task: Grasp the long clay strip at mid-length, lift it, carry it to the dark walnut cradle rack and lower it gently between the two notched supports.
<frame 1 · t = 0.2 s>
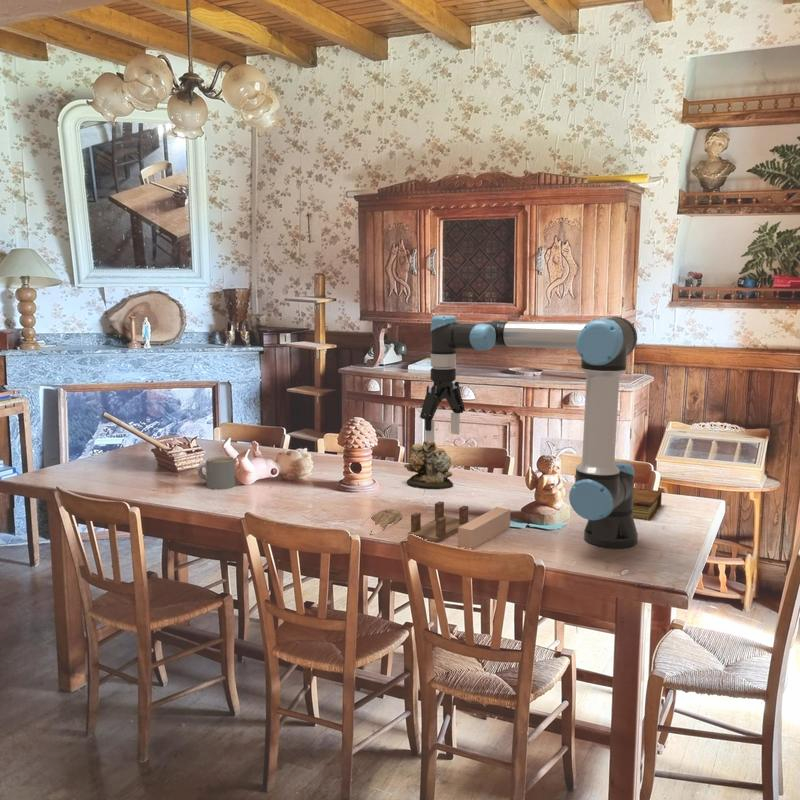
hand: (442, 437, 253), 27 cm above the table, tool pointing down, fingers open, 13 cm apart
coffee mug: (217, 486, 303), on the table
rack: (439, 530, 251), on the table
clay strip: (484, 537, 245), on the table
diary: (619, 510, 274), on the table
fish fossil: (379, 524, 259), on the table
owl figurine: (428, 485, 304), on the table
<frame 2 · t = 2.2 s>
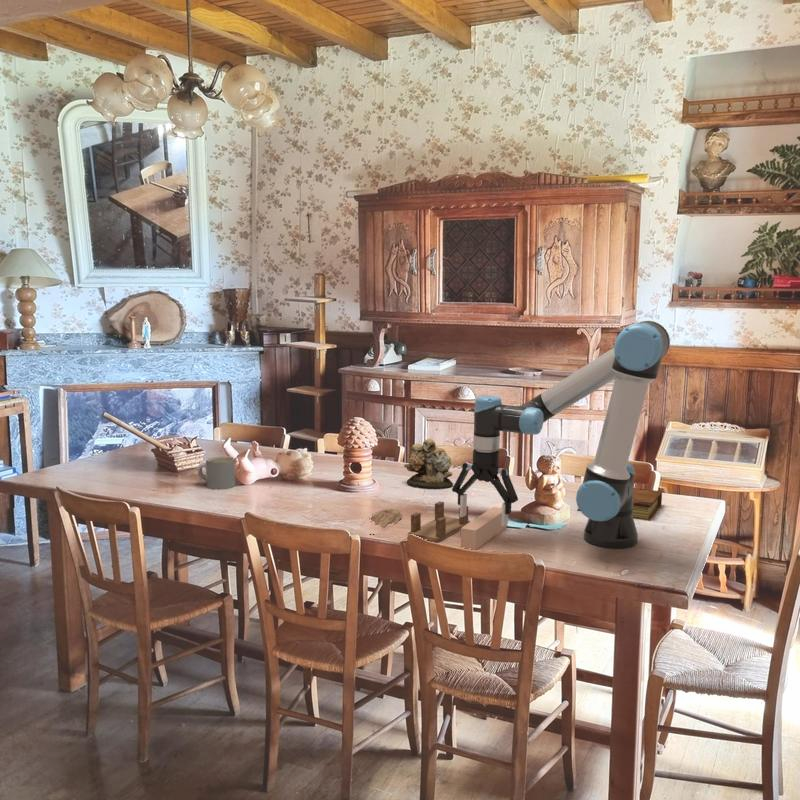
hand: (483, 520, 245), 5 cm above the table, tool pointing down, fingers open, 13 cm apart
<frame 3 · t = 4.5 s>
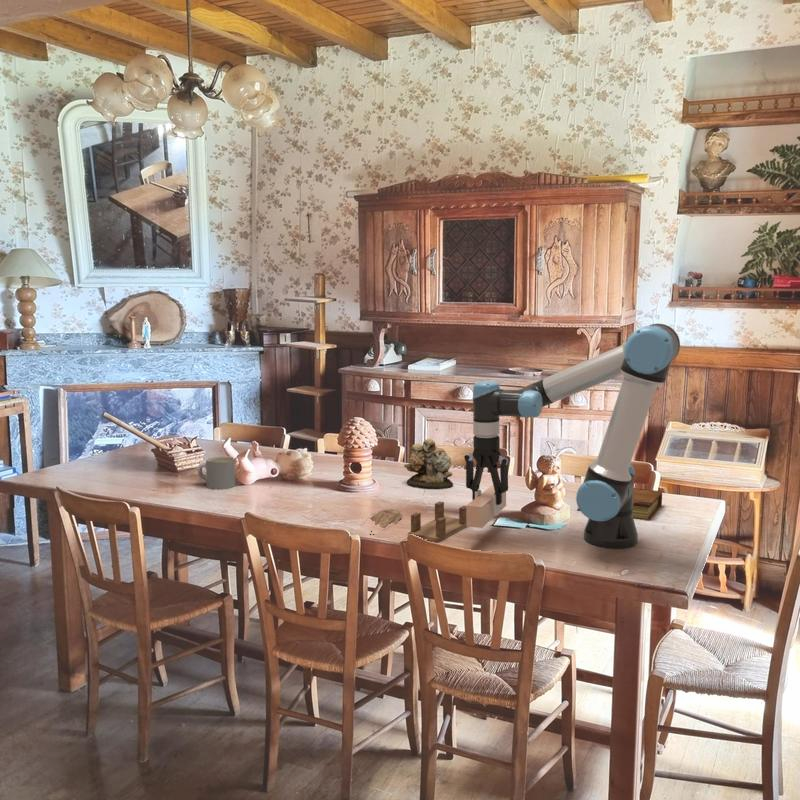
hand: (487, 513, 244), 7 cm above the table, tool pointing down, fingers closed on clay strip, 5 cm apart
clay strip: (487, 515, 244), point 6 cm above the table, touching gripper
everything else where it was.
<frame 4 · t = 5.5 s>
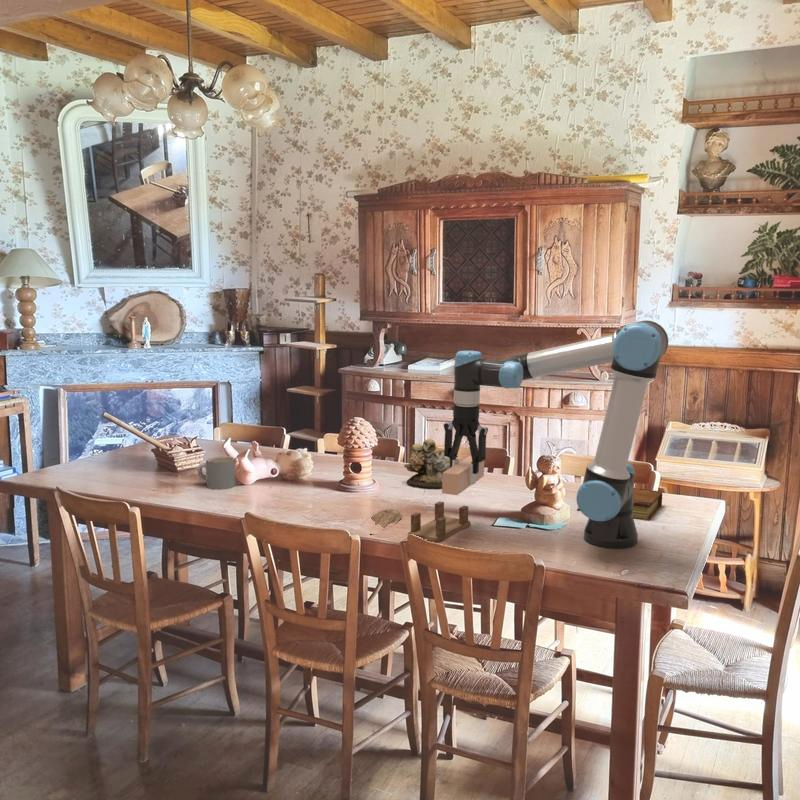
hand: (463, 482, 246), 16 cm above the table, tool pointing down, fingers closed on clay strip, 5 cm apart
clay strip: (463, 484, 246), point 15 cm above the table, touching gripper
everything else where it was.
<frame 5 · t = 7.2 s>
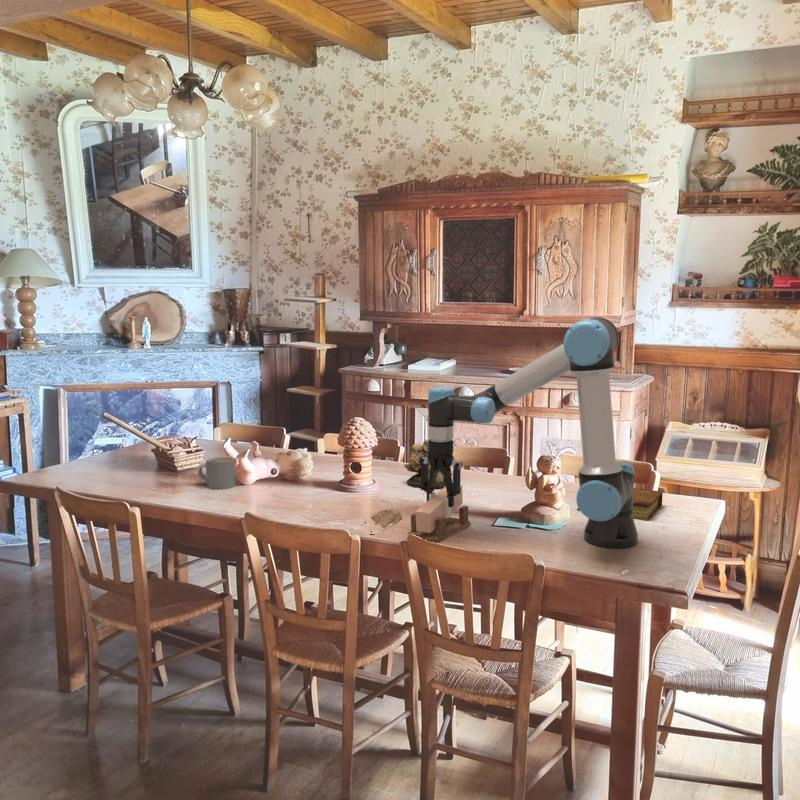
hand: (440, 515, 250), 5 cm above the table, tool pointing down, fingers closed on clay strip, 5 cm apart
clay strip: (440, 516, 251), point 4 cm above the table, tilted 6°, touching gripper
everything else where it was.
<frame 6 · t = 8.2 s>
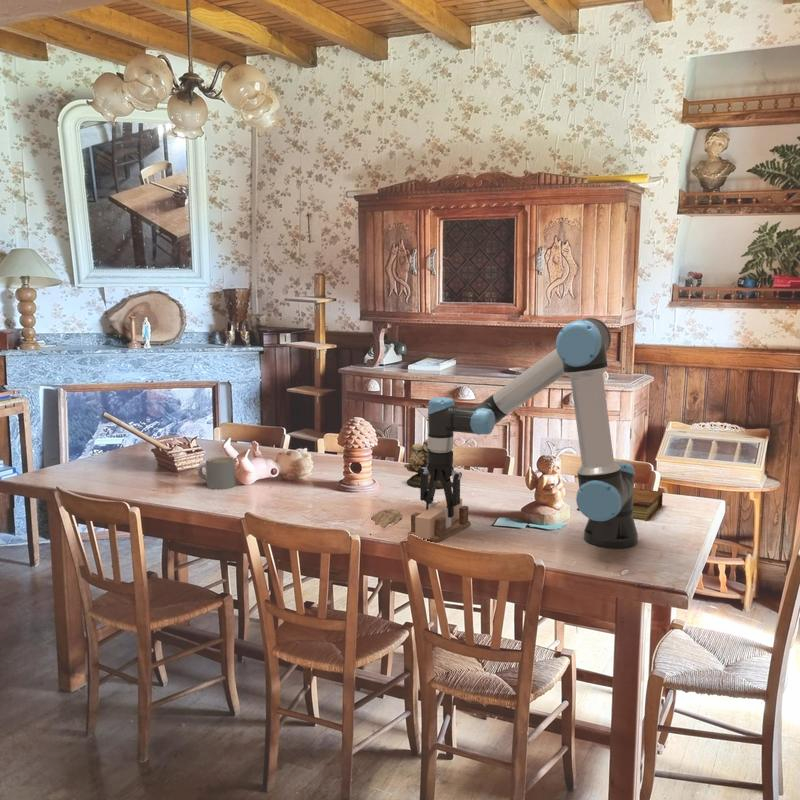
hand: (439, 525, 251), 2 cm above the table, tool pointing down, fingers closed on clay strip, 5 cm apart
clay strip: (439, 526, 251), point 1 cm above the table, touching gripper, rack
everything else where it was.
when the fingers open (2 cm above the table, at t = 8.2 s): clay strip stays where it is, resting on rack.
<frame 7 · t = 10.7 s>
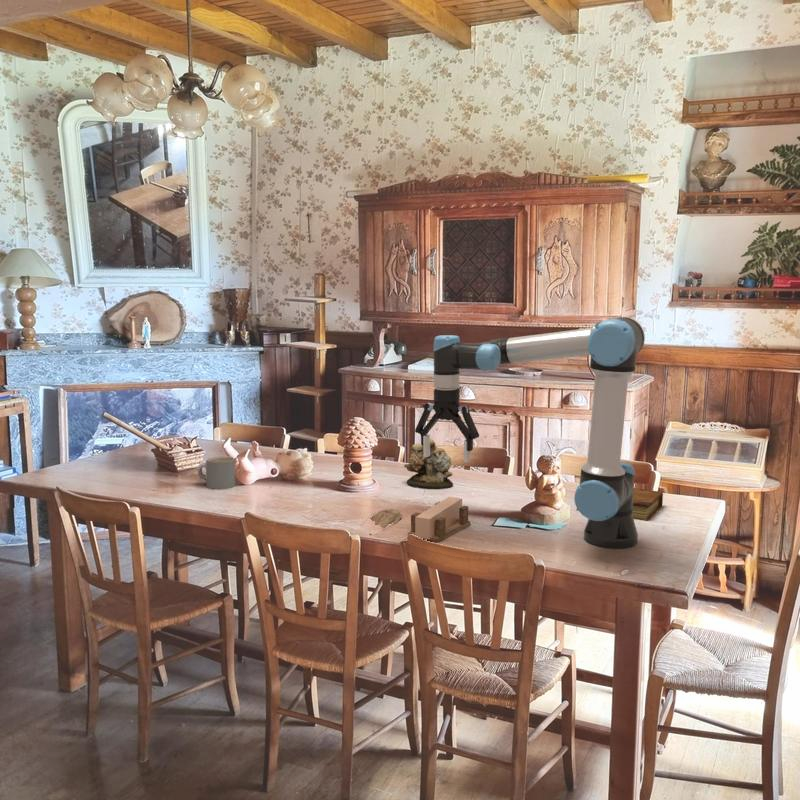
hand: (446, 459, 248), 22 cm above the table, tool pointing down, fingers open, 13 cm apart
clay strip: (439, 526, 251), point 1 cm above the table, touching rack
everything else where it was.
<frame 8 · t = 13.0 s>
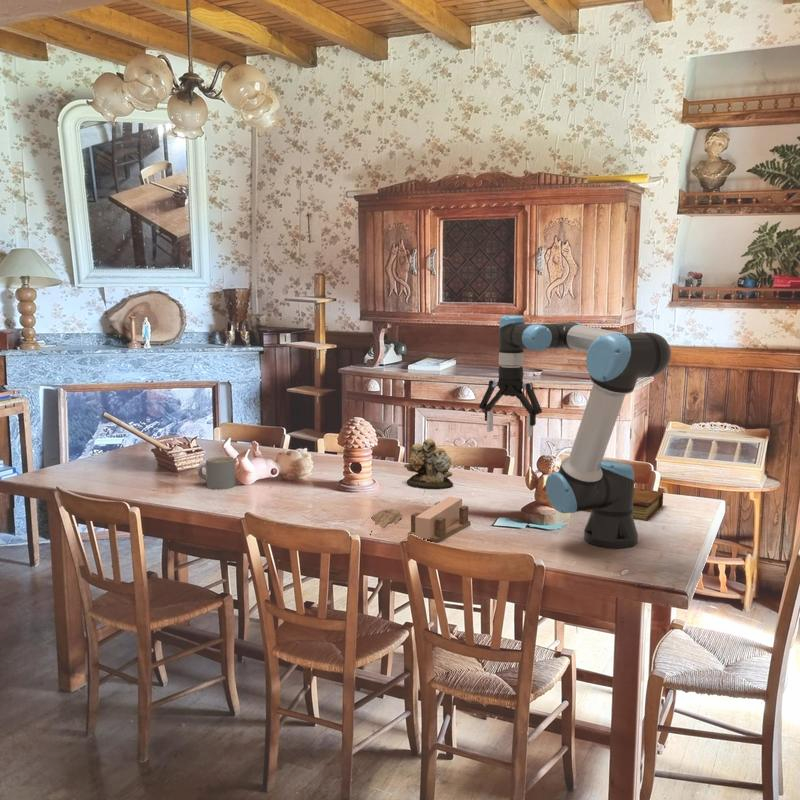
hand: (509, 433, 261), 27 cm above the table, tool pointing down, fingers open, 13 cm apart
nothing on the table moved.
at the end: clay strip 0.1 cm off-centre on the rack, point 1.2 cm above the rack's base; the gripper is holding nothing; clay strip touching rack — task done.
